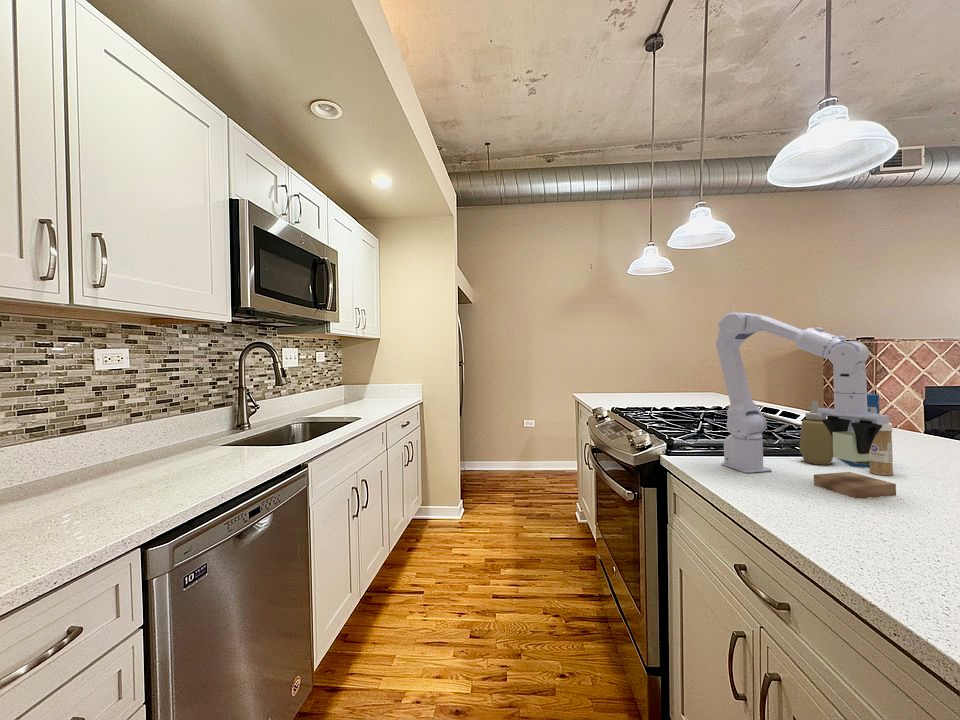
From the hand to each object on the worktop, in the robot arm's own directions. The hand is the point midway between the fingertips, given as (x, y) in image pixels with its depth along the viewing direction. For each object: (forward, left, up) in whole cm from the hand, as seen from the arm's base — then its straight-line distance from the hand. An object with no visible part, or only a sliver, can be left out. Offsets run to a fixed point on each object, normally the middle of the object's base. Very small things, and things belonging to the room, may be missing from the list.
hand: (851, 451), depth 95 cm
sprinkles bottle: (-9, +19, -9) cm, 23 cm away
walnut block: (0, 0, -10) cm, 10 cm away
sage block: (0, 0, -2) cm, 2 cm away
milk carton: (-19, +24, -9) cm, 32 cm away
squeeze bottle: (-22, +14, -9) cm, 28 cm away
